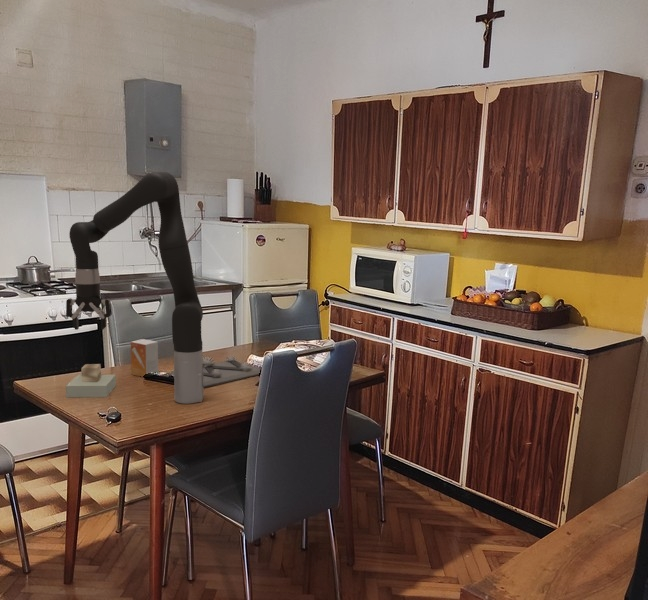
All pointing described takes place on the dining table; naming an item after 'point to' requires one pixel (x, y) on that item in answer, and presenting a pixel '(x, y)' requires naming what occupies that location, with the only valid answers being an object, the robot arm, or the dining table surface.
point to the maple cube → (91, 372)
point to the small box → (144, 357)
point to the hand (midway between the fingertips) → (89, 329)
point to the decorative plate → (225, 371)
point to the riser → (91, 387)
